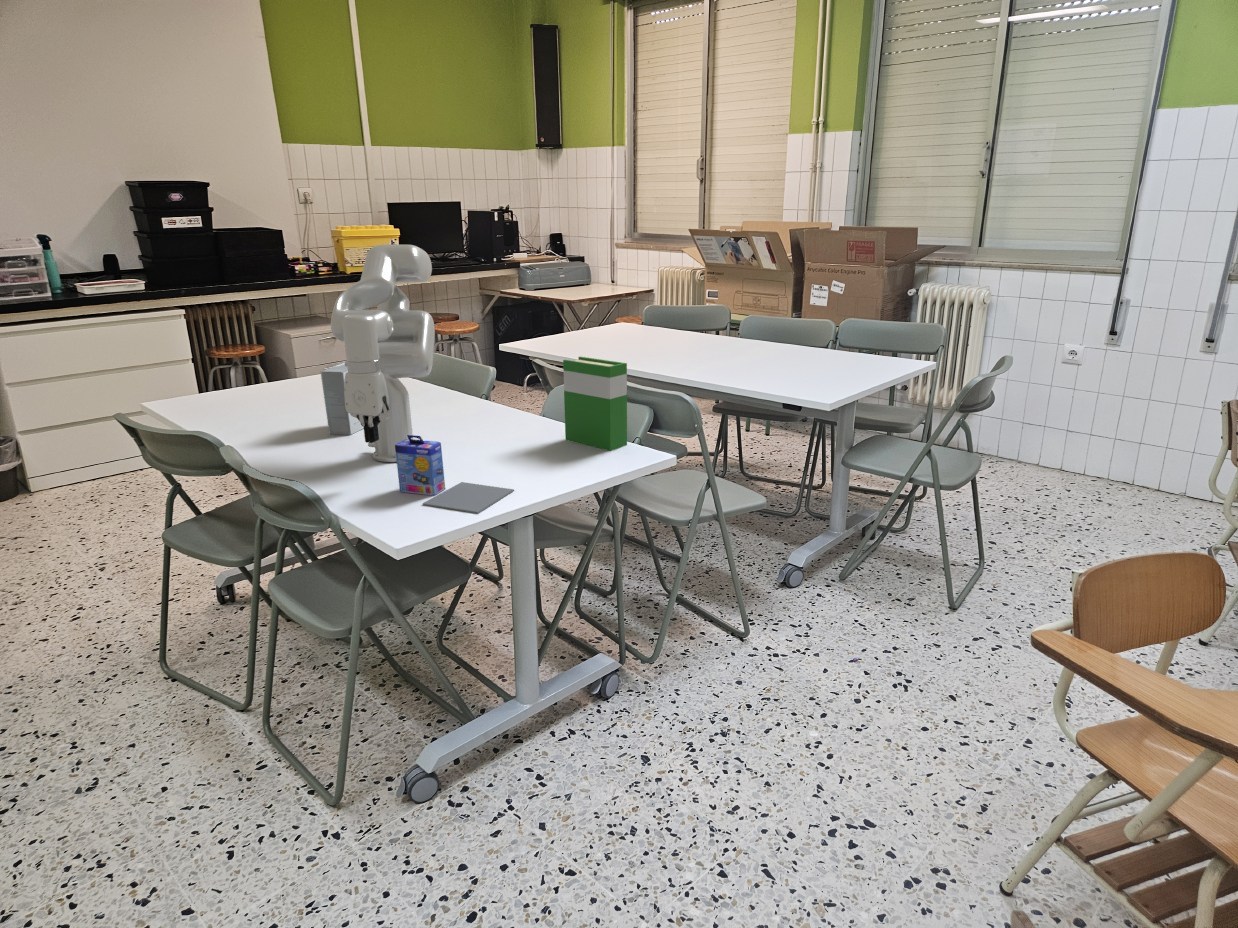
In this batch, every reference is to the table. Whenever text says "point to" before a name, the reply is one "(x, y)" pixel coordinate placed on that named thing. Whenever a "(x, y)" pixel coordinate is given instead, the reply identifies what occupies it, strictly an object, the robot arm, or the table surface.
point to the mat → (468, 497)
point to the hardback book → (595, 402)
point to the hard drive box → (337, 402)
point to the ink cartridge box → (420, 466)
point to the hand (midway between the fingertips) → (372, 441)
